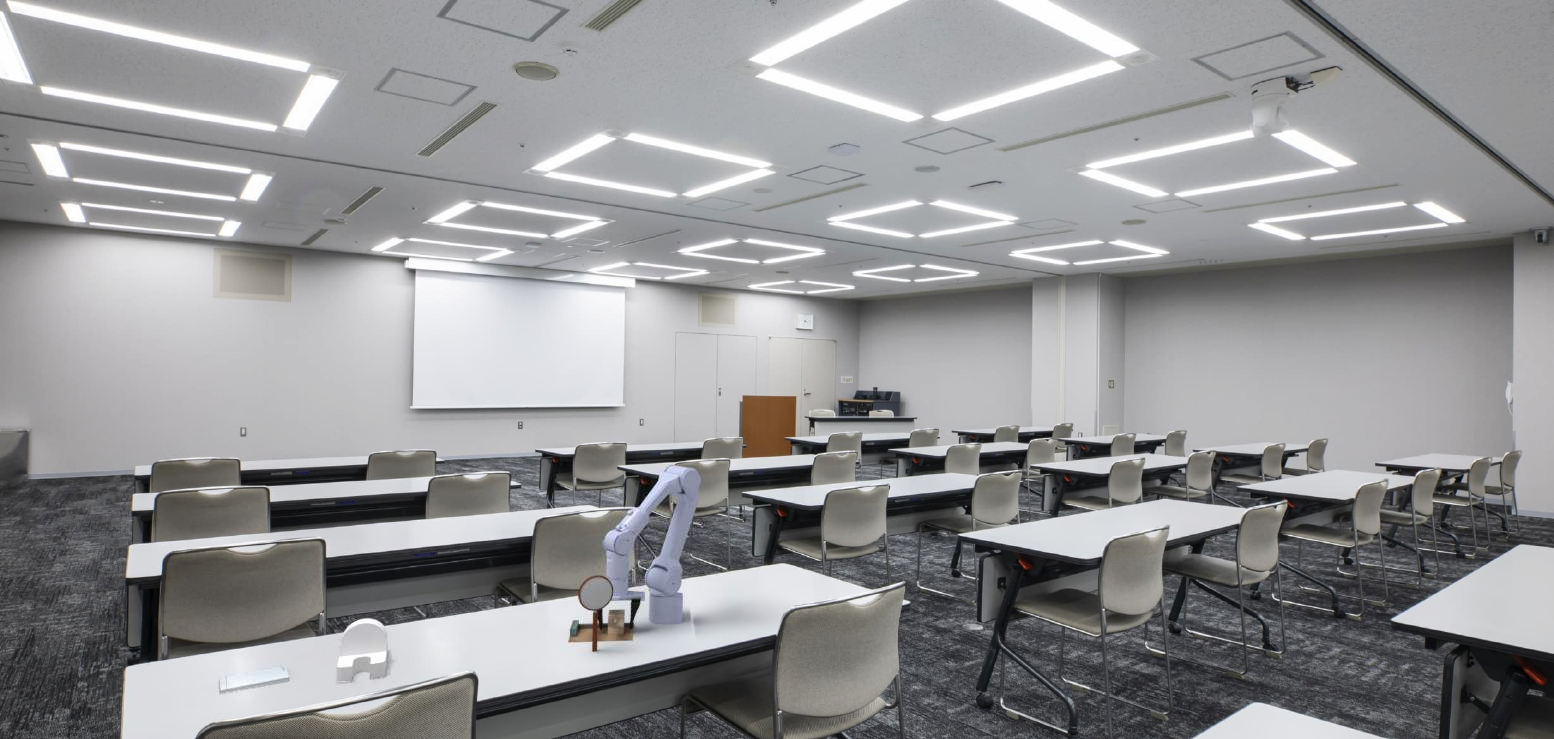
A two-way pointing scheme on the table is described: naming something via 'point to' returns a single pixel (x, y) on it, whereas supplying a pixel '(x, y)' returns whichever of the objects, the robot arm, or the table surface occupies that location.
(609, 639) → the board
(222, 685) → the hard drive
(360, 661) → the white slotted bracket
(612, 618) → the beige block with rod
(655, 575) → the robot arm
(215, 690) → the table surface
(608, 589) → the magnifying glass
